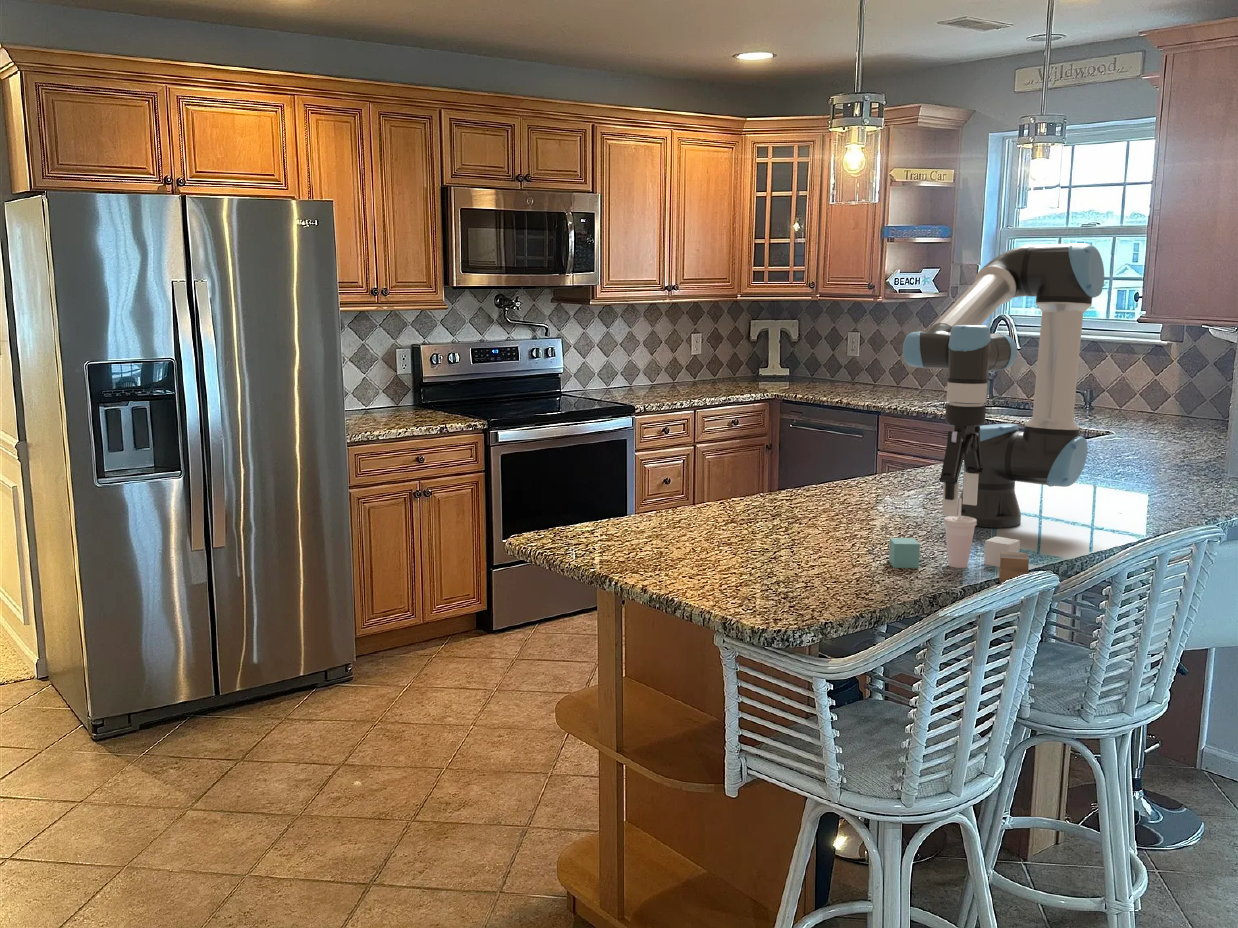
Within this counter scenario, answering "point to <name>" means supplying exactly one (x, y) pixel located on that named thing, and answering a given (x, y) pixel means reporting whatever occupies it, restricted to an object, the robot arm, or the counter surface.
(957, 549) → the smoothie
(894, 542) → the cube teal
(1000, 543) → the cube grey
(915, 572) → the counter surface
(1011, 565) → the cube walnut
